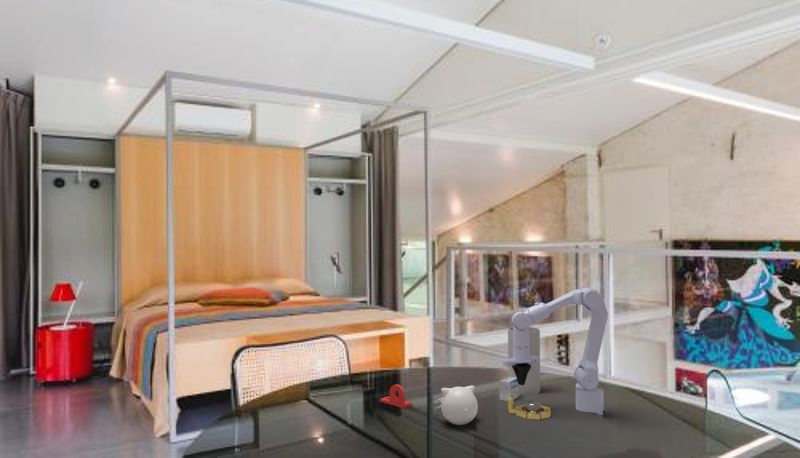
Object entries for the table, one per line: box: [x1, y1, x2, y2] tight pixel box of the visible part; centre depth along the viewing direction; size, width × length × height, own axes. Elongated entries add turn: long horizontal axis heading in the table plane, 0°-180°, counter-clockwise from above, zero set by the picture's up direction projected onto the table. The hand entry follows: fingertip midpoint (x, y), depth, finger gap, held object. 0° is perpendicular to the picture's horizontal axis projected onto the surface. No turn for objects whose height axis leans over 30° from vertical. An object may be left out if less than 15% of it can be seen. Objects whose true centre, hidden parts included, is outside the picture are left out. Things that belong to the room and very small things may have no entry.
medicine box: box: [499, 376, 520, 402], centre depth 211 cm, size 8×4×9 cm, turn 143°
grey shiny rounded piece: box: [525, 400, 541, 413], centre depth 193 cm, size 18×18×5 cm
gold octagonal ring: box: [507, 397, 552, 420], centre depth 193 cm, size 14×12×5 cm
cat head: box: [435, 385, 479, 426], centre depth 187 cm, size 15×13×12 cm
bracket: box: [379, 383, 412, 409], centre depth 211 cm, size 12×4×8 cm, turn 46°
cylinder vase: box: [507, 326, 541, 395], centre depth 225 cm, size 12×12×25 cm
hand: (521, 384), depth 199 cm, fingers closed
